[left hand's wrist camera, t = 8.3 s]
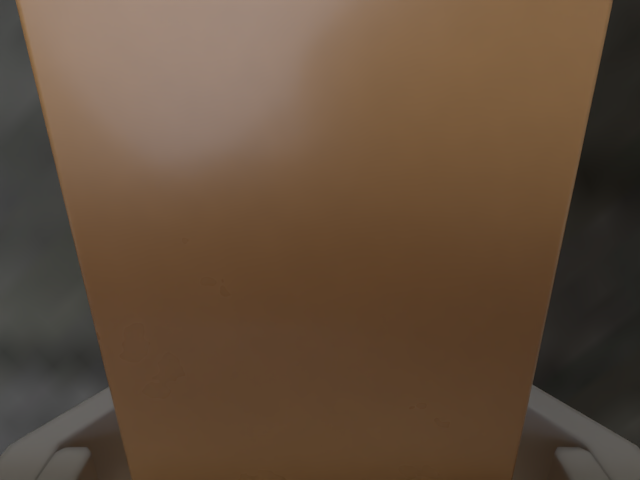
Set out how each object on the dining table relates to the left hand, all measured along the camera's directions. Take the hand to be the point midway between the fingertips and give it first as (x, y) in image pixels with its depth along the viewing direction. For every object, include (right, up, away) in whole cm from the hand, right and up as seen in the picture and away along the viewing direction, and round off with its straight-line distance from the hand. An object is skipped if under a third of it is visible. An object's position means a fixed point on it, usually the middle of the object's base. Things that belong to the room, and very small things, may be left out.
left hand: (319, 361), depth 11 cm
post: (0, +20, -5) cm, 21 cm away
